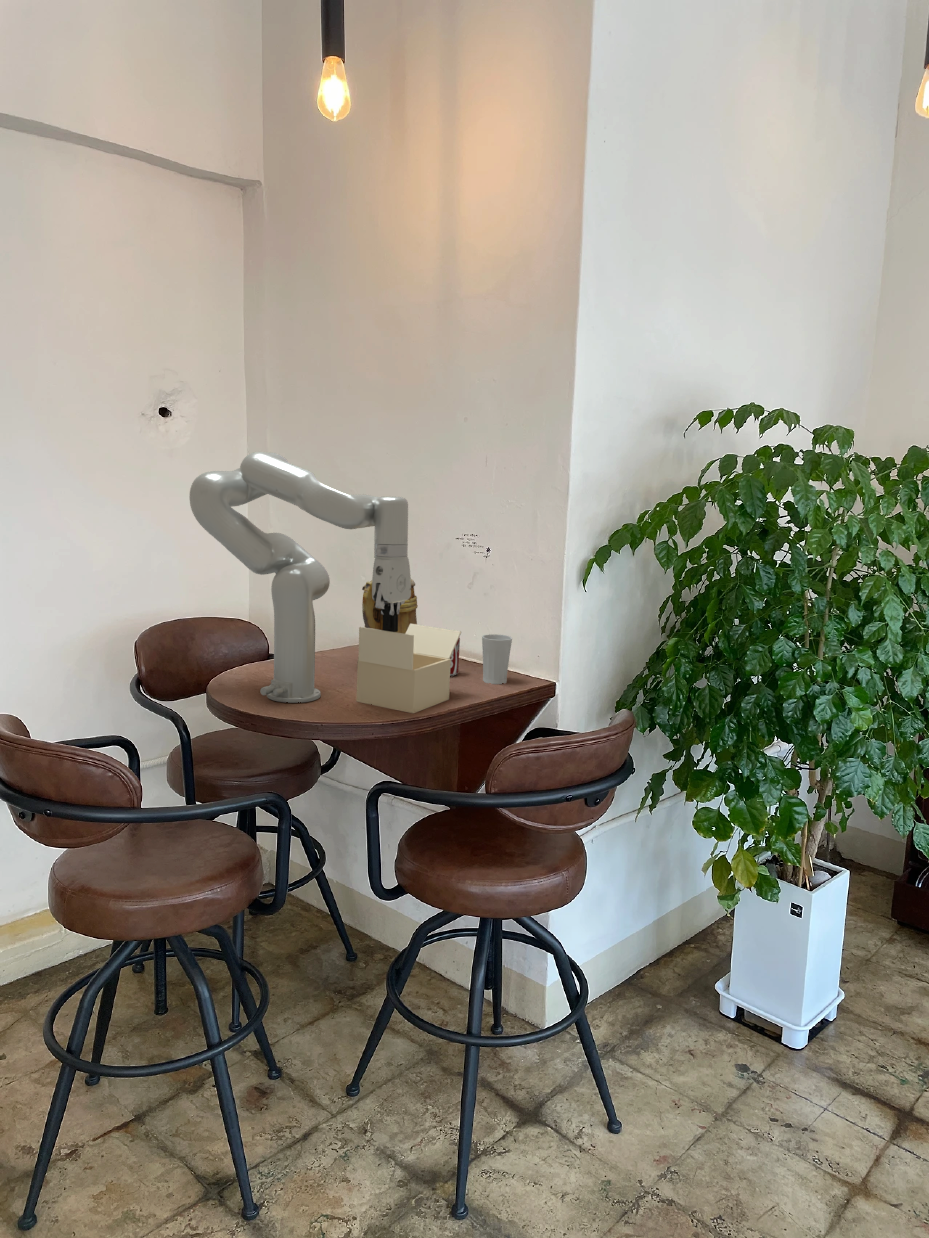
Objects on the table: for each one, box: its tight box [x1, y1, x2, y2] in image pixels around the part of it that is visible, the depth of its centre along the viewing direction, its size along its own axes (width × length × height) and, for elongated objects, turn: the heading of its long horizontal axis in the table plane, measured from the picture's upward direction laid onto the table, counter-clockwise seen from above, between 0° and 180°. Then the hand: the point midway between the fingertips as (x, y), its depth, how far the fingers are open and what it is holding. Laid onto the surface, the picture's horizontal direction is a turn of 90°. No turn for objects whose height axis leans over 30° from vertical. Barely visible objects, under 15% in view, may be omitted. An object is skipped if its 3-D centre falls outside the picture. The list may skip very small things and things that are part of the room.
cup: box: [481, 633, 513, 685], centre depth 238 cm, size 8×8×12 cm
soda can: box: [450, 636, 461, 677], centre depth 243 cm, size 7×7×12 cm
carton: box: [356, 653, 451, 714], centre depth 214 cm, size 16×16×10 cm
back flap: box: [405, 623, 462, 659], centre depth 222 cm, size 8×15×1 cm
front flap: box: [358, 626, 414, 670], centre depth 206 cm, size 8×15×1 cm
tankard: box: [356, 578, 418, 665], centre depth 247 cm, size 18×24×25 cm
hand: (390, 631), depth 206 cm, fingers closed
